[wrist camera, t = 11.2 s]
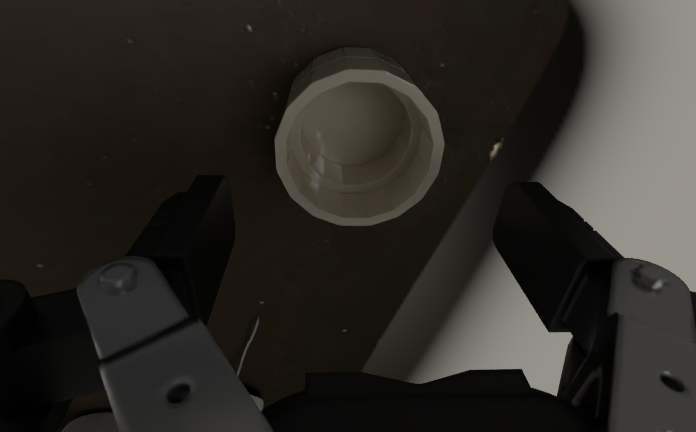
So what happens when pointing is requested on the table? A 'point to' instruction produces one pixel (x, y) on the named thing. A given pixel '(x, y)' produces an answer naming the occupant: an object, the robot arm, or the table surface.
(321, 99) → the bowl
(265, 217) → the table surface
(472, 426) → the robot arm
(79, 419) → the potted plant
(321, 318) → the table surface
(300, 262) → the table surface
